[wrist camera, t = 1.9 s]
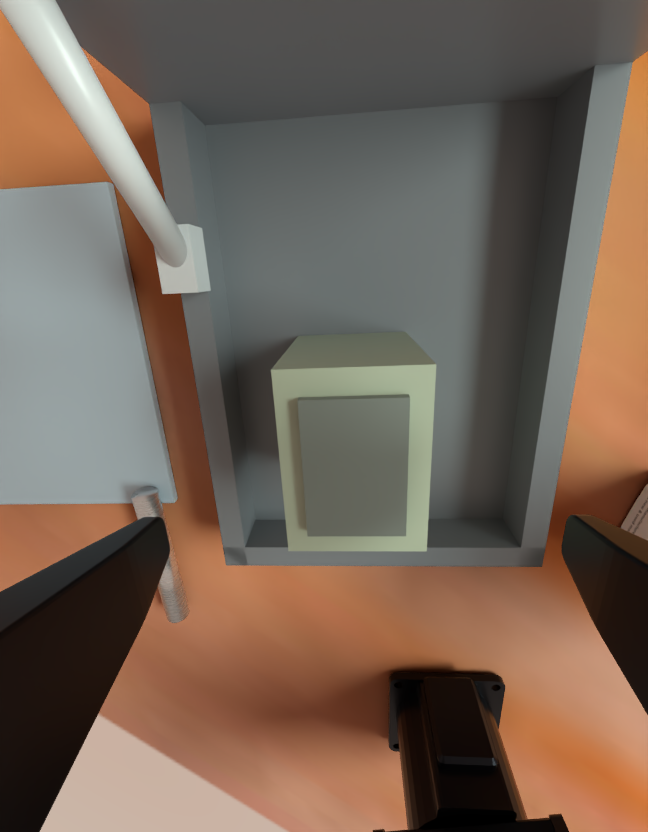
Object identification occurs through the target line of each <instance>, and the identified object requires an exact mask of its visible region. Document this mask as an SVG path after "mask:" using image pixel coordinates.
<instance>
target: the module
mask: <svg viewBox="0 0 648 832" xmlns="http://www.w3.org/2000/svg"><path fill="white" fill-rule="evenodd" d="M271 376H272V386H273V396H274V407H275V417H276V427H277V438H278V448H279V458H280V468H281V479H282V489H283V499H284V510H285V520H286V530H287V541H288V551H427V536H428V517H429V497H430V478H431V459H432V440H433V420H434V401H435V382H436V363H435V362H434V361H433V360H432V359H431V358H430V357H429V356H428V355H427V354H426V353H425V352H424V351H423V350H422V349H421V347H420V346H419V345H418V344H417V343H416V342H415V341H414V340H413V339H412V338H411V337H410V336H409V335H408V334H407V333H406V332H385V333H360V334H334V335H309V336H298V337H297V338H296V339H295V341H294V342H293V343H292V344H291V346H290V347H289V348H288V349H287V351H286V352H285V353H284V354H283V355H282V357H281V358H280V359H279V360H278V362H277V363H276V364H275V365H274V367H273V368H272V369H271Z"/></svg>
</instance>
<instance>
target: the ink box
mask: <svg viewBox="0 0 648 832" xmlns="http://www.w3.org/2000/svg"><path fill="white" fill-rule="evenodd" d="M620 528H621V529H624V530H626V531H628V532H630V533H632V534H635V535H637V536H639V537H641V538H643V539H646V540H648V484H647V485H646V486H645V488H644V489H643V491H642V492H641V494H640V495H639V497H638V498H637V500H636V502H635V503H634V505H633V506H632V508H631V510H630V512H629V513H628V515H627V517H626V519H625V520H624V522H623V524H622V526H621V527H620Z"/></svg>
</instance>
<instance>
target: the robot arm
mask: <svg viewBox="0 0 648 832" xmlns="http://www.w3.org/2000/svg"><path fill="white" fill-rule="evenodd" d="M169 554H170V544H169V539H168V535H167V530H166V526H165V522H164V520H163V519H162V518H161V517H143V518H141V519H139V520H137V521H135V522H133V523H131V524H129V525H127V526H125V527H123V528H122V529H120V530H118V531H116V532H114V533H112V534H110V535H108V536H106V537H104V538H102V539H101V540H99V541H97V542H95V543H93V544H91V545H89V546H87V547H85V548H83V549H81V550H79V551H78V552H76V553H74V554H72V555H70V556H68V557H66V558H64V559H62V560H60V561H58V562H57V563H55V564H53V565H51V566H49V567H47V568H45V569H43V570H41V571H39V572H37V573H36V574H34V575H32V576H30V577H28V578H26V579H24V580H22V581H20V582H18V583H16V584H15V585H13V586H11V587H9V588H7V589H5V590H3V591H1V592H0V832H40V830H41V827H42V825H43V824H44V822H45V820H46V818H47V816H48V814H49V811H50V809H51V807H52V805H53V803H54V801H55V799H56V797H57V795H58V793H59V791H60V789H61V787H62V785H63V783H64V781H65V779H66V777H67V775H68V773H69V771H70V769H71V767H72V765H73V763H74V761H75V759H76V757H77V755H78V753H79V751H80V749H81V747H82V745H83V743H84V741H85V739H86V737H87V735H88V733H89V731H90V729H91V727H92V725H93V723H94V721H95V719H96V717H97V715H98V713H99V711H100V709H101V707H102V705H103V703H104V701H105V699H106V697H107V695H108V693H109V691H110V689H111V687H112V685H113V683H114V681H115V679H116V677H117V675H118V673H119V671H120V669H121V667H122V665H123V663H124V661H125V659H126V657H127V655H128V653H129V651H130V649H131V647H132V645H133V643H134V641H135V639H136V637H137V635H138V633H139V631H140V629H141V627H142V624H143V622H144V620H145V618H146V615H147V613H148V611H149V608H150V606H151V603H152V600H153V598H154V595H155V592H156V590H157V587H158V584H159V582H160V579H161V576H162V574H163V571H164V569H165V566H166V563H167V561H168V558H169ZM562 555H563V558H564V561H565V563H566V565H567V567H568V569H569V571H570V573H571V576H572V578H573V580H574V582H575V584H576V586H577V588H578V591H579V593H580V595H581V597H582V599H583V601H584V603H585V606H586V608H587V610H588V612H589V614H590V616H591V618H592V620H593V622H594V624H595V626H596V628H597V630H598V631H599V633H600V635H601V637H602V639H603V640H604V642H605V644H606V645H607V647H608V649H609V650H610V652H611V654H612V655H613V657H614V659H615V660H616V662H617V664H618V666H619V667H620V669H621V671H622V672H623V674H624V676H625V677H626V679H627V681H628V682H629V684H630V686H631V688H632V689H633V691H634V693H635V694H636V696H637V698H638V699H639V701H640V703H641V704H642V706H643V708H644V709H645V711H646V713H647V715H648V540H646V539H643V538H641V537H639V536H637V535H635V534H632V533H630V532H628V531H626V530H624V529H621V528H619V527H617V526H615V525H613V524H610V523H608V522H606V521H604V520H602V519H599V518H597V517H595V516H593V515H571V516H569V517H568V519H567V521H566V526H565V531H564V536H563V542H562ZM504 692H505V685H504V682H503V680H502V678H501V677H500V676H498V675H484V674H444V673H404V672H397V673H393V674H391V675H390V677H389V731H388V740H389V748H390V749H391V750H393V751H399V752H400V759H401V769H402V778H403V788H404V797H405V807H406V816H407V826H408V830H400V831H389V832H569V830H568V828H567V826H566V824H565V821H564V819H563V817H562V815H561V814H553V815H549V818H540V819H527V816H526V813H525V810H524V807H523V804H522V801H521V797H520V794H519V791H518V788H517V785H516V782H515V779H514V776H513V773H512V770H511V767H510V764H509V761H508V758H507V754H506V751H505V748H504V745H503V742H502V739H501V736H500V733H499V730H498V729H499V723H500V717H501V711H502V704H503V698H504ZM373 832H385V830H384V829H380V830H373Z"/></svg>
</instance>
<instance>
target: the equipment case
mask: <svg viewBox="0 0 648 832" xmlns="http://www.w3.org/2000/svg"><path fill="white" fill-rule="evenodd" d="M0 9H1V11H2V12H3V14H4V15H5V17H6V18H7V20H8V21H9V23H10V24H11V26H12V28H13V29H14V31H15V32H16V34H17V35H18V37H19V38H20V40H21V41H22V43H23V44H24V46H25V48H26V49H27V51H28V52H29V54H30V55H31V57H32V58H33V60H34V61H35V63H36V64H37V66H38V68H39V69H40V71H41V72H42V74H43V75H44V77H45V78H46V80H47V81H48V83H49V84H50V86H51V88H52V89H53V91H54V92H55V94H56V95H57V97H58V98H59V100H60V101H61V103H62V104H63V106H64V107H65V109H66V111H67V112H68V114H69V115H70V117H71V118H72V120H73V121H74V123H75V124H76V126H77V127H78V129H79V131H80V132H81V134H82V135H83V137H84V138H85V140H86V141H87V143H88V144H89V146H90V147H91V149H92V151H93V152H94V154H95V155H96V157H97V158H98V160H99V161H100V163H101V164H102V166H103V167H104V169H105V171H106V172H107V174H108V175H109V177H110V178H111V180H112V181H113V183H114V184H115V186H116V187H117V189H118V191H119V192H120V194H121V195H122V197H123V198H124V200H125V201H126V203H127V204H128V206H129V207H130V209H131V210H132V212H133V214H134V215H135V217H136V218H137V220H138V221H139V223H140V224H141V226H142V227H143V229H144V230H145V232H146V234H147V235H148V237H149V238H150V240H151V241H152V243H153V244H154V250H155V255H156V261H157V266H158V272H159V277H160V283H161V288H162V294H176V293H181V298H182V304H183V310H184V316H185V322H186V328H187V334H188V340H189V346H190V352H191V358H192V364H193V370H194V376H195V382H196V388H197V394H198V400H199V406H200V412H201V418H202V424H203V430H204V436H205V442H206V448H207V454H208V460H209V466H210V472H211V478H212V483H213V489H214V495H215V501H216V507H217V513H218V519H219V525H220V531H221V537H222V543H223V549H224V555H225V561H226V565H274V566H486V567H542V564H543V559H544V553H545V547H546V542H547V536H548V531H549V525H550V520H551V514H552V508H553V503H554V497H555V492H556V486H557V481H558V475H559V469H560V464H561V458H562V453H563V447H564V442H565V436H566V430H567V425H568V419H569V414H570V408H571V403H572V397H573V391H574V386H575V380H576V375H577V369H578V364H579V358H580V352H581V347H582V341H583V336H584V330H585V325H586V319H587V313H588V308H589V302H590V297H591V291H592V286H593V280H594V274H595V269H596V263H597V258H598V252H599V247H600V241H601V235H602V230H603V224H604V219H605V213H606V208H607V202H608V196H609V191H610V185H611V180H612V174H613V169H614V163H615V157H616V152H617V146H618V141H619V135H620V130H621V124H622V118H623V113H624V107H625V102H626V96H627V91H628V85H629V79H630V74H631V68H632V63H633V61H635V60H636V59H637V58H639V57H640V56H641V55H643V54H644V53H645V52H647V51H648V0H0ZM81 47H82V48H83V49H85V50H86V51H87V52H88V53H89V54H90V55H92V56H93V57H94V58H95V59H96V60H98V61H99V62H100V63H101V64H102V65H104V66H105V67H106V68H107V69H108V70H109V71H111V72H112V73H113V74H114V75H115V76H117V77H118V78H119V79H120V80H121V81H123V82H124V83H125V84H126V85H127V86H129V87H130V88H131V89H132V90H133V91H134V92H136V93H137V94H138V95H139V96H140V97H142V98H143V99H144V100H145V101H146V102H148V103H149V106H150V112H151V118H152V124H153V130H154V136H155V142H156V148H157V154H158V160H159V166H160V172H161V178H162V184H163V190H164V196H165V202H166V204H165V202H164V200H163V198H162V196H161V194H160V192H159V191H158V189H157V187H156V185H155V183H154V181H153V179H152V178H151V176H150V174H149V172H148V170H147V168H146V167H145V165H144V163H143V161H142V159H141V157H140V155H139V154H138V152H137V150H136V148H135V146H134V144H133V143H132V141H131V139H130V137H129V135H128V133H127V131H126V130H125V128H124V126H123V124H122V122H121V120H120V119H119V117H118V115H117V113H116V111H115V109H114V107H113V106H112V104H111V102H110V100H109V98H108V96H107V94H106V93H105V91H104V89H103V87H102V85H101V83H100V82H99V80H98V78H97V76H96V74H95V72H94V70H93V69H92V67H91V65H90V63H89V61H88V59H87V58H86V56H85V54H84V52H83V50H82V48H81ZM385 332H406V333H407V334H408V335H409V336H410V337H411V338H412V339H413V340H414V341H415V342H416V343H417V344H418V345H419V346H420V347H421V349H422V350H423V351H424V352H425V353H426V354H427V355H428V356H429V357H430V358H431V359H432V360H433V361H434V362H435V363H436V382H435V401H434V420H433V440H432V459H431V478H430V497H429V517H428V536H427V551H288V541H287V530H286V520H285V510H284V499H283V489H282V479H281V468H280V458H279V448H278V438H277V427H276V417H275V407H274V396H273V386H272V376H271V369H272V368H273V367H274V365H275V364H276V363H277V362H278V360H279V359H280V358H281V357H282V355H283V354H284V353H285V352H286V351H287V349H288V348H289V347H290V346H291V344H292V343H293V342H294V341H295V339H296V338H297V337H298V336H309V335H334V334H360V333H385Z"/></svg>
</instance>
